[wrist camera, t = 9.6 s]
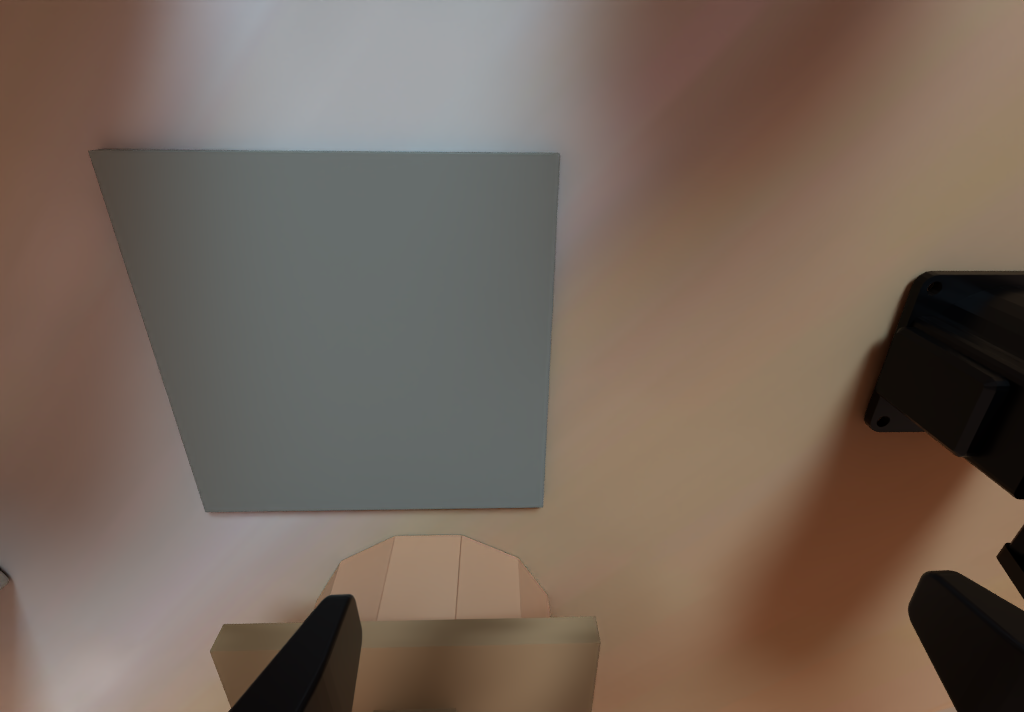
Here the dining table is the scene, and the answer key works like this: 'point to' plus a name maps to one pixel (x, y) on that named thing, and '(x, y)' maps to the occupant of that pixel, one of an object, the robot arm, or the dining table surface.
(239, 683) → the walnut lid
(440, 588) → the terracotta bowl
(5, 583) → the coffee box
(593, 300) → the dining table surface
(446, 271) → the rubber mat
